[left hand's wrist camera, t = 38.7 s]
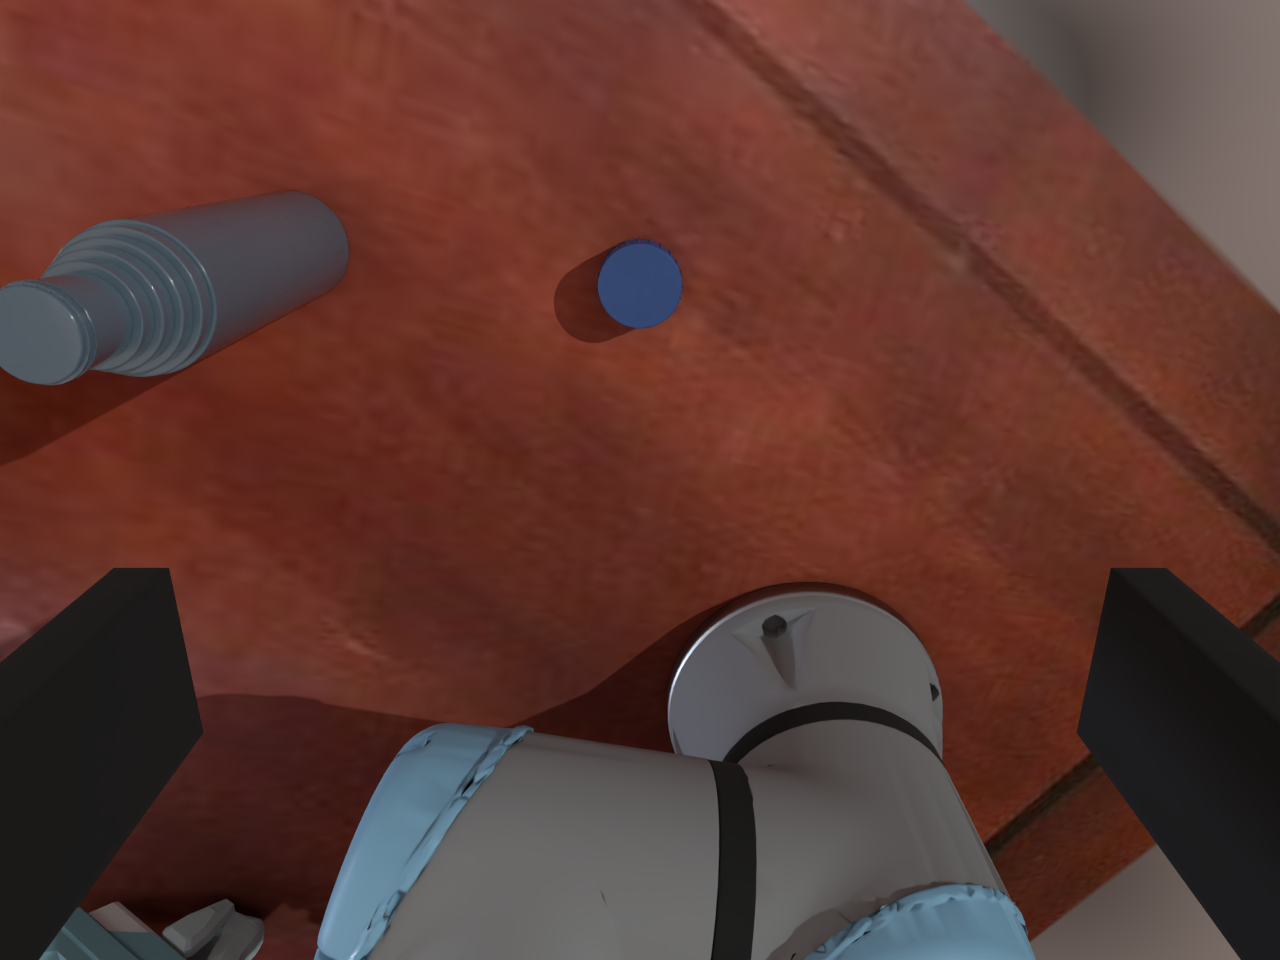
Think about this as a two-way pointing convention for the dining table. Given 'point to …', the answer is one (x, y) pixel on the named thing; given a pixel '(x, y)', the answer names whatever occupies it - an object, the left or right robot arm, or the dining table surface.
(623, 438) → the dining table surface
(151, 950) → the toy gun
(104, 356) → the bottle
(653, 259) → the cap
